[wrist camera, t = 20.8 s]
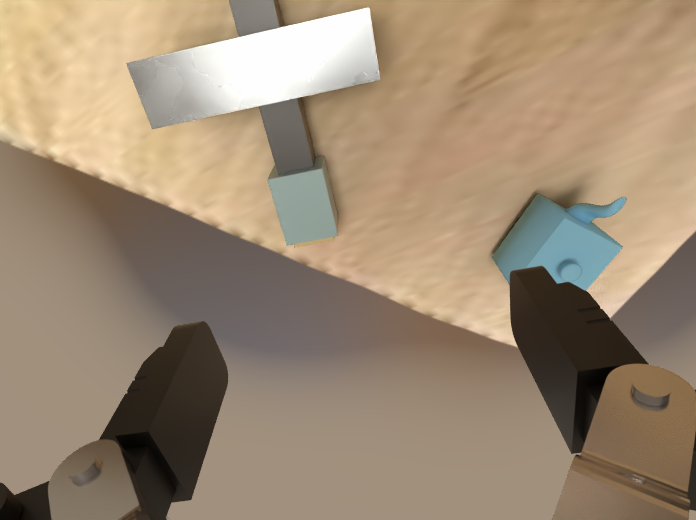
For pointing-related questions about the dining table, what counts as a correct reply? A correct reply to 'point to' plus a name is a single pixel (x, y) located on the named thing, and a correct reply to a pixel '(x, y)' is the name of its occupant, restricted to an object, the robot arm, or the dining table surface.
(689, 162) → the dining table surface
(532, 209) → the teapot
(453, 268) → the dining table surface
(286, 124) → the plug
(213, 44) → the bridge block
